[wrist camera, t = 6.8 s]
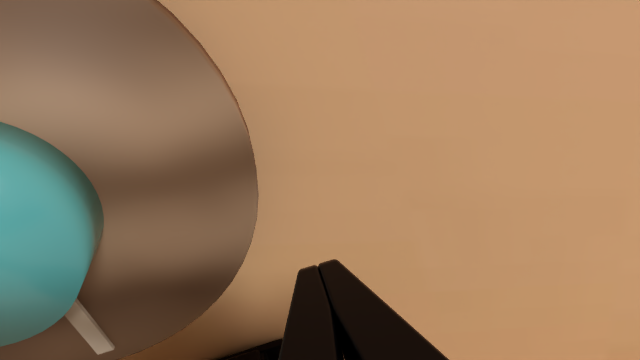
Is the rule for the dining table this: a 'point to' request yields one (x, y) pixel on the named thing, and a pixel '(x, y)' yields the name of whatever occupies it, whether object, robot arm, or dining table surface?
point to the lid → (42, 233)
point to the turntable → (133, 164)
